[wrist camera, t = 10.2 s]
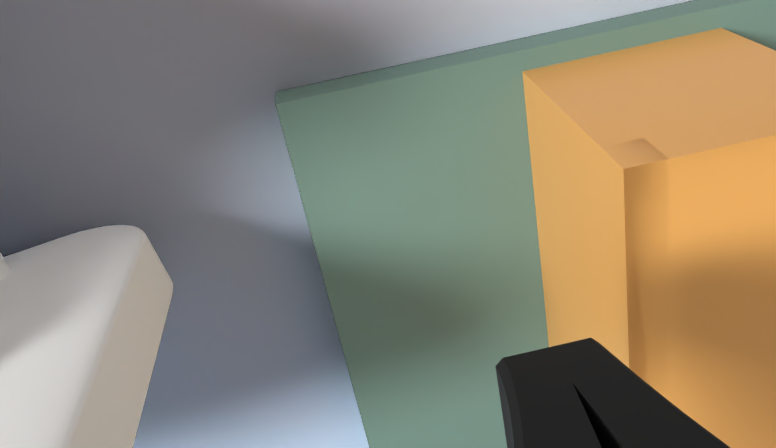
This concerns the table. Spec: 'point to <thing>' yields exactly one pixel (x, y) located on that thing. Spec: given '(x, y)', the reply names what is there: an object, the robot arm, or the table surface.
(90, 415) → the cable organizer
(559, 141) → the block
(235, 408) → the table surface
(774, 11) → the board
